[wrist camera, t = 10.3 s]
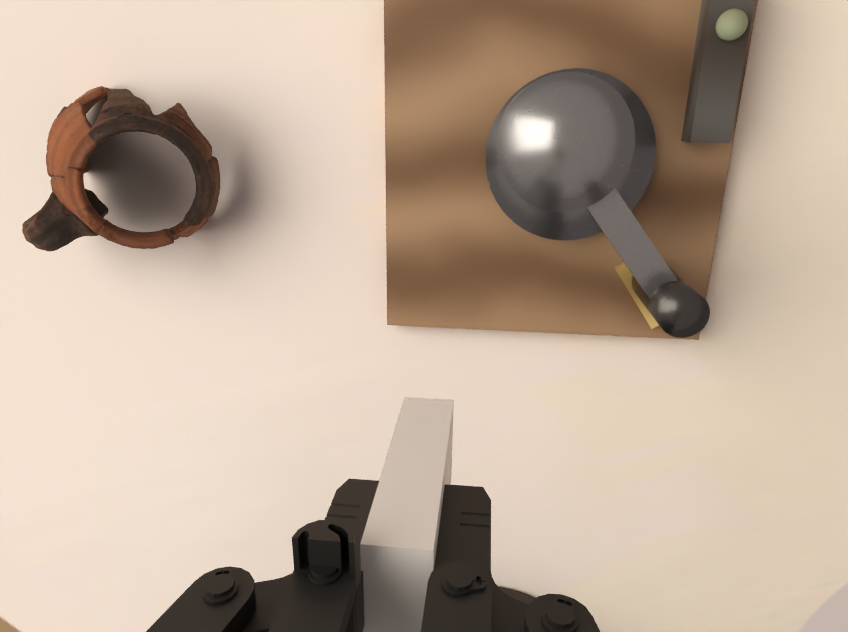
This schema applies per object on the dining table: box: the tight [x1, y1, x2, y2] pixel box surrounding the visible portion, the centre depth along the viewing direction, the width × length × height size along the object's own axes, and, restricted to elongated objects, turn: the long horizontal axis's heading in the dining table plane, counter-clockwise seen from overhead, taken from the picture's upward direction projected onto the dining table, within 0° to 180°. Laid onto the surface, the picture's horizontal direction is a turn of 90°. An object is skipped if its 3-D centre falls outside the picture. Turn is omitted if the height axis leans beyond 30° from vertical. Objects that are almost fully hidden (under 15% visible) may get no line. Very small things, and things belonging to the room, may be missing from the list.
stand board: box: [384, 0, 757, 340], centre depth 33 cm, size 20×19×4 cm
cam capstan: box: [485, 68, 710, 338], centre depth 31 cm, size 14×9×6 cm, turn 38°
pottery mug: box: [22, 86, 220, 251], centre depth 36 cm, size 12×9×8 cm
